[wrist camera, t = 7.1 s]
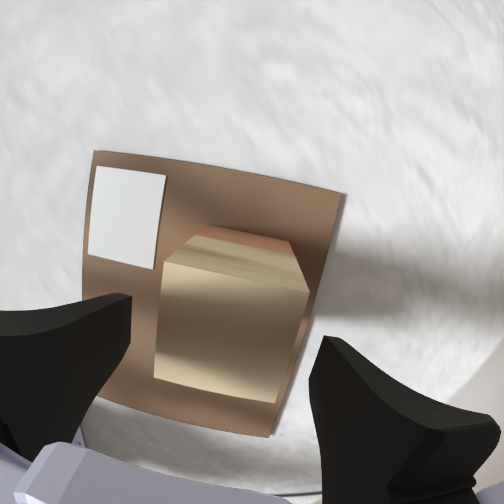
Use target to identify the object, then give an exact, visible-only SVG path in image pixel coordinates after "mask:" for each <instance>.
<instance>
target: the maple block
mask: <svg viewBox="0 0 504 504" xmlns="http://www.w3.org/2000/svg"><path fill="white" fill-rule="evenodd" d="M309 293H310V291H309V289H308V286H307V284H306V281H305V279H304V276H303V274H302V271H301V269H300V267H299V264H298V262H297V259H296V257H295V256H294V255H289V254H284V253H280V252H275V251H270V250H266V249H261V248H256V247H251V246H247V245H242V244H237V243H232V242H228V241H223V240H218V239H213V238H208V237H204V236H199V235H194V236H193V237H192V238H190V239H189V240H188V241H187V242H186V243H185V244H183V245H182V246H181V247H180V248H179V249H178V250H177V251H175V252H174V253H173V254H172V255H171V256H170V257H168V258H167V259H166V260H165V261H164V266H163V274H162V282H161V291H160V301H159V311H158V322H157V334H156V347H155V362H154V378H158V379H161V380H165V381H169V382H173V383H177V384H180V385H184V386H189V387H193V388H197V389H201V390H206V391H210V392H215V393H220V394H225V395H230V396H235V397H240V398H246V399H252V400H258V401H264V402H271V403H275V401H276V398H277V395H278V392H279V389H280V386H281V383H282V381H283V378H284V375H285V372H286V369H287V365H288V362H289V359H290V356H291V353H292V350H293V347H294V344H295V340H296V337H297V334H298V331H299V327H300V324H301V321H302V317H303V314H304V311H305V307H306V304H307V300H308V297H309Z"/></svg>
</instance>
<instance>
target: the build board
mask: <svg viewBox="0 0 504 504" xmlns="http://www.w3.org/2000/svg"><path fill="white" fill-rule="evenodd" d="M340 198H341V193H337V192H333V191H329V190H325V189H321V188H317V187H313V186H308V185H304V184H300V183H295V182H291V181H286V180H281V179H277V178H272V177H267V176H262V175H257V174H252V173H247V172H242V171H237V170H231V169H226V168H220V167H214V166H209V165H203V164H196V163H190V162H184V161H177V160H170V159H163V158H156V157H149V156H141V155H133V154H124V153H115V152H106V151H95V150H94V153H93V159H92V165H91V171H90V179H89V186H88V194H87V203H86V214H85V225H84V240H83V263H82V301H84V300H87V299H91V298H95V297H98V296H102V295H106V294H111V293H122V294H126V295H130V296H133V297H132V317H131V343H130V345H129V347H128V349H127V351H126V353H125V355H124V357H123V359H122V361H121V362H120V364H119V365H118V367H117V368H116V369H115V371H114V372H113V373H112V375H111V376H110V378H109V379H108V380H107V382H106V383H105V384H104V386H103V387H102V389H101V390H100V391H99V393H98V394H97V396H98V397H101V398H104V399H107V400H109V401H112V402H115V403H118V404H121V405H124V406H127V407H130V408H133V409H136V410H140V411H143V412H146V413H150V414H153V415H157V416H160V417H164V418H167V419H171V420H175V421H179V422H183V423H187V424H192V425H196V426H201V427H205V428H210V429H215V430H220V431H226V432H232V433H237V434H244V435H250V436H257V437H265V438H269V436H270V433H271V431H272V428H273V425H274V423H275V420H276V417H277V415H278V412H279V409H280V406H281V404H282V401H283V398H284V395H285V392H286V389H287V386H288V383H289V381H290V378H291V375H292V372H293V369H294V366H295V363H296V359H297V356H298V353H299V350H300V347H301V344H302V341H303V337H304V334H305V331H306V328H307V324H308V321H309V318H310V314H311V311H312V307H313V304H314V300H315V297H316V293H317V290H318V286H319V283H320V279H321V275H322V271H323V268H324V264H325V260H326V256H327V252H328V248H329V244H330V240H331V236H332V232H333V228H334V224H335V220H336V215H337V211H338V207H339V202H340ZM206 225H211V226H216V227H221V228H226V229H231V230H236V231H241V232H246V233H251V234H256V235H261V236H266V237H271V238H275V239H280V240H285V241H289V243H290V246H291V248H292V251H293V253H294V256H295V257H296V259H297V262H298V264H299V267H300V269H301V271H302V274H303V276H304V279H305V281H306V284H307V286H308V289H309V291H310V293H309V297H308V300H307V304H306V307H305V311H304V314H303V317H302V321H301V324H300V327H299V331H298V334H297V337H296V340H295V344H294V347H293V350H292V353H291V356H290V359H289V362H288V365H287V369H286V372H285V375H284V378H283V381H282V383H281V386H280V389H279V392H278V395H277V398H276V401H275V403H271V402H264V401H258V400H252V399H246V398H240V397H235V396H230V395H225V394H220V393H215V392H210V391H206V390H201V389H197V388H193V387H189V386H184V385H180V384H177V383H173V382H169V381H165V380H161V379H158V378H154V362H155V347H156V334H157V322H158V311H159V301H160V291H161V282H162V274H163V266H164V261H165V260H166V259H167V258H168V257H170V256H171V255H172V254H173V253H174V252H175V251H177V250H178V249H179V248H180V247H181V246H182V245H183V244H185V243H186V242H187V241H188V240H189V239H190V238H192V237H193V236H194V235H195V234H196V233H197V232H199V231H200V230H201V229H202V228H203V227H204V226H206Z"/></svg>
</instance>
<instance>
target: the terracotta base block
mask: <svg viewBox="0 0 504 504" xmlns="http://www.w3.org/2000/svg"><path fill="white" fill-rule="evenodd" d="M195 235H199V236H204V237H208V238H213V239H218V240H223V241H228V242H232V243H237V244H242V245H247V246H251V247H256V248H261V249H266V250H270V251H275V252H280V253H284V254H289V255H294V253H293V251H292V248H291V246H290V243H289V241H285V240H280V239H275V238H271V237H266V236H261V235H256V234H251V233H246V232H241V231H236V230H231V229H226V228H221V227H216V226H211V225H206V226H204V227H203V228H202V229H201V230H200V231H199V232H197V233H196V234H195Z"/></svg>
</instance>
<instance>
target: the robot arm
mask: <svg viewBox="0 0 504 504" xmlns="http://www.w3.org/2000/svg"><path fill="white" fill-rule="evenodd" d="M132 297H133V296H130V295H126V294H122V293H111V294H106V295H102V296H98V297H95V298H91V299H87V300H84V301H80V302H76V303H71V304H67V305H62V306H58V307H53V308H46V309H38V310H26V311H0V504H292V503H290V502H289V501H287V500H286V499H284V498H282V497H279V496H274V495H269V494H264V493H260V492H256V491H251V490H245V489H237V488H230V487H224V486H218V485H212V484H207V483H202V482H197V481H192V480H187V479H183V478H179V477H175V476H171V475H167V474H163V473H159V472H156V471H152V470H149V469H145V468H142V467H139V466H136V465H133V464H130V463H127V462H124V461H121V460H118V459H115V458H112V457H110V456H107V455H104V454H102V453H99V452H97V451H94V450H92V449H88V448H86V447H85V444H84V440H83V436H82V432H81V428H80V424H81V422H82V420H83V418H84V416H85V414H86V412H87V410H88V408H89V406H90V405H91V403H92V401H93V400H94V398H95V397H96V396H97V394H98V393H99V391H100V390H101V389H102V387H103V386H104V384H105V383H106V382H107V380H108V379H109V378H110V376H111V375H112V373H113V372H114V371H115V369H116V368H117V367H118V365H119V364H120V362H121V361H122V359H123V357H124V355H125V353H126V351H127V349H128V347H129V345H130V343H131V317H132ZM309 398H310V405H311V410H312V414H313V419H314V424H315V428H316V433H317V438H318V443H319V448H320V455H321V469H322V504H504V481H502V482H499V483H497V484H494V485H492V486H489V487H487V488H484V489H482V490H480V491H479V492H478V493H476V494H474V491H473V490H472V487H474V486H475V485H476V480H475V478H474V476H473V475H474V474H475V472H476V471H477V470H478V469H479V468H480V467H481V466H482V464H483V463H484V462H485V461H486V460H487V458H488V457H489V456H490V455H491V453H492V452H493V451H494V449H495V448H496V446H497V444H498V442H499V439H500V435H501V430H500V427H499V426H498V424H497V423H496V422H495V420H494V419H493V418H492V417H491V416H490V415H488V414H482V413H477V412H472V411H468V410H463V409H459V408H456V407H453V406H450V405H447V404H444V403H441V402H438V401H436V400H433V399H431V398H429V397H427V396H424V395H422V394H420V393H418V392H416V391H414V390H412V389H410V388H408V387H407V386H405V385H403V384H402V383H400V382H398V381H397V380H395V379H393V378H392V377H390V376H389V375H388V374H386V373H385V372H383V371H382V370H381V369H379V368H378V367H377V366H375V365H374V364H373V363H371V362H370V361H369V360H368V359H366V358H365V357H364V356H363V355H361V354H360V353H359V352H358V351H357V350H355V349H354V348H353V347H352V346H350V345H349V344H348V343H347V342H345V341H344V340H342V339H341V338H338V337H331V336H324V337H323V340H322V342H321V345H320V348H319V351H318V354H317V357H316V360H315V363H314V365H313V368H312V371H311V374H310V376H309Z"/></svg>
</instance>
